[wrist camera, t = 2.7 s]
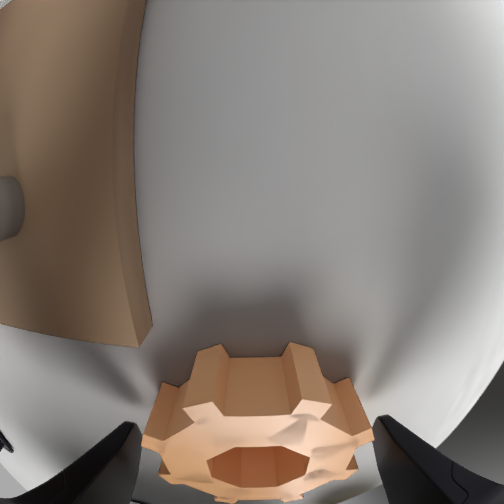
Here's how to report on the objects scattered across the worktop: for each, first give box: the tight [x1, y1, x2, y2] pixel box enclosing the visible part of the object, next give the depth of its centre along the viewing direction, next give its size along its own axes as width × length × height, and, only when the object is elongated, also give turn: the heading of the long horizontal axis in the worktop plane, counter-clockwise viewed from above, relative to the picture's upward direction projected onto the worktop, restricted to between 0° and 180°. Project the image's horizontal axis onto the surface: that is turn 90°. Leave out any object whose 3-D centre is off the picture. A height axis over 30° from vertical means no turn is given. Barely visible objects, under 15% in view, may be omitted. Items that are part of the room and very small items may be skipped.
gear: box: [141, 342, 374, 504], centre depth 7 cm, size 7×7×2 cm
